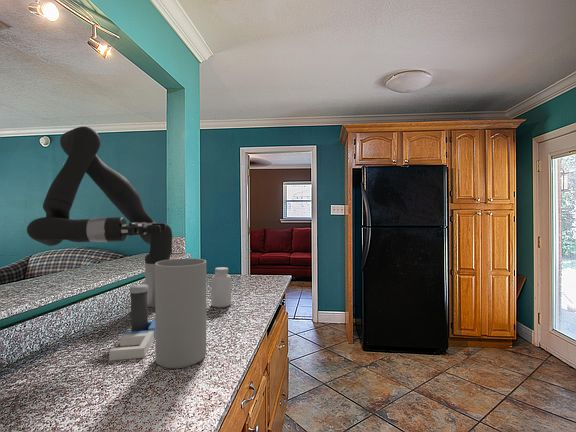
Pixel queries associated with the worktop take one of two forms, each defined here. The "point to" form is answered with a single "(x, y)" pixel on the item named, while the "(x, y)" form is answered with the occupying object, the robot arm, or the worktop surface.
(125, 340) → the blue grey comb bracket
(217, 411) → the worktop surface
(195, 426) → the worktop surface
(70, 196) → the robot arm
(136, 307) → the grey capped cylinder
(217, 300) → the pill bottle
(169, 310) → the cylinder vase
